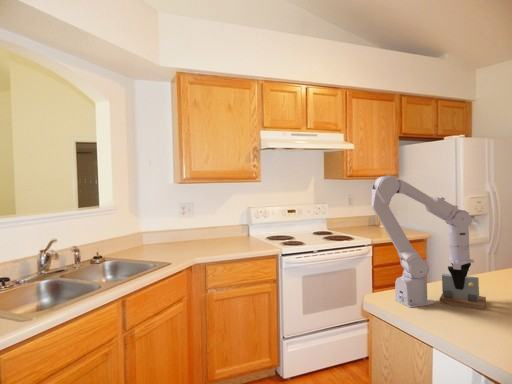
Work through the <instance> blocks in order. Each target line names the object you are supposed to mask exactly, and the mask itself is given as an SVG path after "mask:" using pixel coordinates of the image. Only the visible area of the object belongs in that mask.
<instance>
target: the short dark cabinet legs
mask: <svg viewBox="0 0 512 384" xmlns="http://www.w3.org/2000/svg"><path fill="white" fill-rule="evenodd" d="M442 293H443V295H444V297H445V298H451V299H452V292H450V291H443V292H442ZM468 301H471V302H477V295H471V294H468Z"/></svg>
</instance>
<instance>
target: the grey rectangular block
mask: <svg viewBox="0 0 512 384" xmlns="http://www.w3.org/2000/svg"><path fill="white" fill-rule="evenodd" d="M479 282H480V281H479V277H476V276H468V275H467V276H466V277H465V283H464V288H463V290H460V289H455V286H454V282H453V278H452V276H451V273H442V275H441V284H442V285H441V286H442V289H441V290H442V293H443V291H450V292H452V297H454V298H460V299H467V300H468V294H471V295H477V301H479V296H480V286H479V284H480V283H479ZM443 296H444V295H443Z"/></svg>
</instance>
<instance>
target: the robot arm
mask: <svg viewBox="0 0 512 384" xmlns="http://www.w3.org/2000/svg"><path fill="white" fill-rule="evenodd" d="M396 194H402V195H405V196H406V197H408V198H411V200H414V201H416V202H418V203H420V204H422V205H424V206H425V210H426V212H428V213H430V214H432V215H434V216H435V217H438V218H439V219H441V220H443V221H444V222H445V223H446V224H447V225H448V226H447V229H448V232H447V233H448V235H447V236H448V253H449V254H448V261H449V263H450V265H451V266H450V265H448V266H447V270H448V272H449V274H451V276H452V278H453V282H454V286H455V289H460V290H463V288H464V283H465V277H466V276H468V272H469V270H470V267H471V265H472V264H473V263H475V259H473V258H472V259H471V258H470V257H471V256H470V255H471V253H470V232H469V229H470V225H471V224H472V223H473V218H472V217H471V215H470V212H468V211H467V210H463V209H459V206H458V205H457V204H453V203H450V202H449V201H446V198H445V197H443V196H437V195H435V196H432V197H431V196H430V195H428V194H426V193H425V192H423V191H421V190H419V188H417V187H415V186H413V185H411V184H410V183H408V182H407V181H405V180H403V179H400V178H397V177H395V176H393V175H385V176H383V175H382V176H379V177H376V179H375V180H374V182H373V183H372V186H371V208H372V210H373V212H374V213H375V215H376V217H377V219H378V220H379V222H380V223H381V226H382V227H383V228H384V231H385V232H386V233H387V236H388V237H389V239H390V241H391V243H392V244H393V246H394V247H395V249H396V251H397V256H398V257H399V261H400V266H401V267H402V269H403V271H402V275H401V276H400V277H396V280H395V283H394V285H395V286H394V288H395V289H394V291H395V297H394V301H396V302H398V303H399V304H402V305H403V306H406V307H408V308H416V307H423V306H429V305H434V304H435V303H434V301H431V300H429V299H428V283H427V282H428V280H427V279H428V277H427V276H428V274H429V271H430V265H429V264H428V262H427V261H426V260H425V259H424V258H422V257H421V255H419V253H418V252H417V251H416V249H415V248H414V247H413V246H412V244H411V242H410V240H409V238H408V237H407V235H406V233H405V232H404V230H403V229H402V226H401V225H400V223H399V222H398V220H397V218H396V217H395V215H394V213H393V212H392V210H391V208H390V206H389V205H390V203H391V201H392V198H393V197H394V196H395V195H396Z"/></svg>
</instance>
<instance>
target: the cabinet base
mask: <svg viewBox="0 0 512 384" xmlns="http://www.w3.org/2000/svg"><path fill="white" fill-rule="evenodd" d="M486 298H487V297H486V296H483V295H482V296H481V295H479V301H477V302H471V301H468V300H467V299H460V298H454V297H452V299H451V298H445V297H444V296H443V292H442V293H441V295H440V296H439V304H444V305H449V306H456V307H461V308H468V309H474V310H480V311H485V308H486V304H487V299H486Z"/></svg>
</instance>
